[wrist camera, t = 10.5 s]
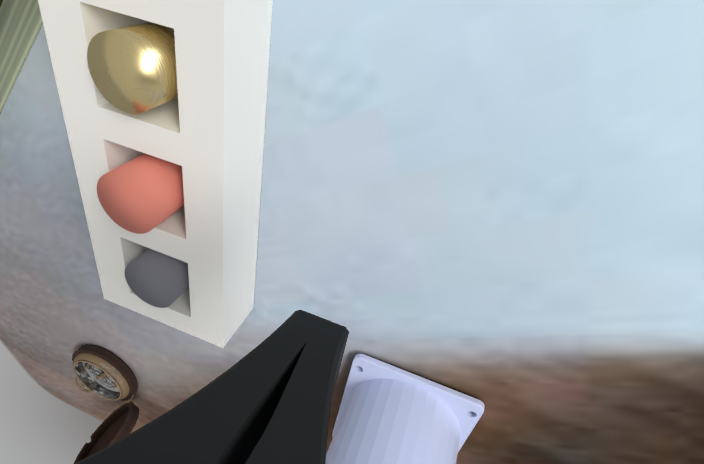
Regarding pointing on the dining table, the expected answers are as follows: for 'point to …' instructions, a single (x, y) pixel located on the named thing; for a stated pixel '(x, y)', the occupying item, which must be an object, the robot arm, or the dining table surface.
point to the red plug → (141, 193)
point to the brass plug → (134, 66)
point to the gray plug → (157, 278)
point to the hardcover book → (16, 39)
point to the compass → (106, 394)
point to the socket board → (176, 149)
